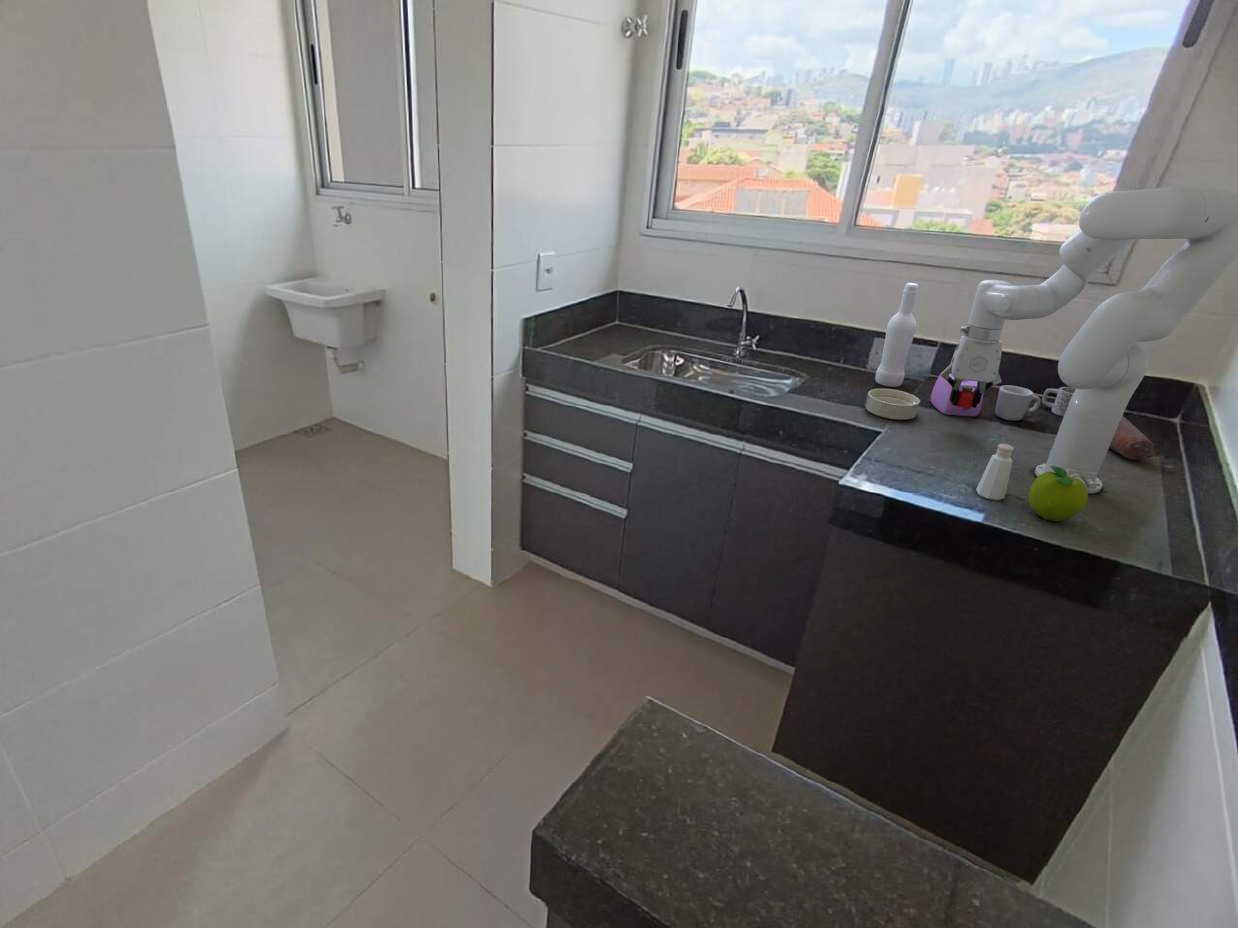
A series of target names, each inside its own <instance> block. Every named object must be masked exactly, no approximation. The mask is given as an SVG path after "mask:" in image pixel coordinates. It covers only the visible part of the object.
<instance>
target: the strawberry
mask: <svg viewBox="0 0 1238 928" xmlns="http://www.w3.org/2000/svg"><path fill="white" fill-rule="evenodd" d="M972 390H973V387H970V386H963V387H962V390H960V394H959V398H958V401H957V405H956V406H958V407H961V408H971V407H972V404H973V401H974V393H973V391H972Z"/></svg>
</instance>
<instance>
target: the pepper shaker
mask: <svg viewBox="0 0 1238 928" xmlns="http://www.w3.org/2000/svg"><path fill="white" fill-rule="evenodd" d="M1014 450H1015V448H1014V446H1012V445H1010V444H1008V443H999V444H998V445H997V449H996V453H995V454H992V455H991V457H990V458H989V461H988V463H987V465H986V467H985V470H984V471H983V474H982V476H981V478H980V480H979V482H978V484H977V486H976V488H975V492H976V493H977V494H978V496H980V497H983V498H985V499H987V500H992V501H1000V500H1003V499H1005V498H1006V494H1007V490H1008V484H1009V481H1010V480H1009V479H1010V475H1011V471H1012V467H1013V459H1012V458H1011V456H1012V454H1013V451H1014Z"/></svg>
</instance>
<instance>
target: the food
mask: <svg viewBox="0 0 1238 928" xmlns="http://www.w3.org/2000/svg"><path fill="white" fill-rule="evenodd" d="M1109 449H1111V450H1112V451H1115V452H1116V453H1117V454H1119V455H1121V456H1122V457H1124V458H1126V459H1128V460H1131V461H1135V460H1143V459H1147V458H1153V457H1154V456H1155V454H1156V451H1155V446H1154V443H1153V442H1152V441H1151V440H1150V439H1149V438H1148V437H1147V436H1146V435H1145V434H1144V433H1143V432H1141V430H1139V428H1137V426H1135V425H1134V424H1133V423H1132V422H1131V421H1130V420H1128V418H1126V417H1125V416H1124V415H1123V416H1122V418H1121V420H1120V422H1119V425H1118V427H1117V429H1116V432H1115V434H1114V437H1113V439H1112V441H1111V444H1110V446H1109Z"/></svg>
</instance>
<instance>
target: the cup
mask: <svg viewBox="0 0 1238 928" xmlns="http://www.w3.org/2000/svg"><path fill="white" fill-rule="evenodd" d="M1033 400H1035V403H1034V405H1033V406H1032V407H1030V408H1029V405H1030V403H1031V402H1032V401H1033ZM1040 405H1041V398H1040V396H1038V395H1036V394H1034V392H1033V391H1032V390H1030V389H1028V388H1025V387H1022V386H1017V385H1010V384H1009V385H1001V386H1000V387H999V390H998V395H997V400H996V404H995V410H994V411H995V416H996V417H998V418H1000V419H1002V420H1006V421H1011V422H1016V421H1021V420H1022V418H1023V417H1024V415H1025V414H1026V413H1033V412H1036V411H1037V410H1038V408H1039V407H1040Z"/></svg>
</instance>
